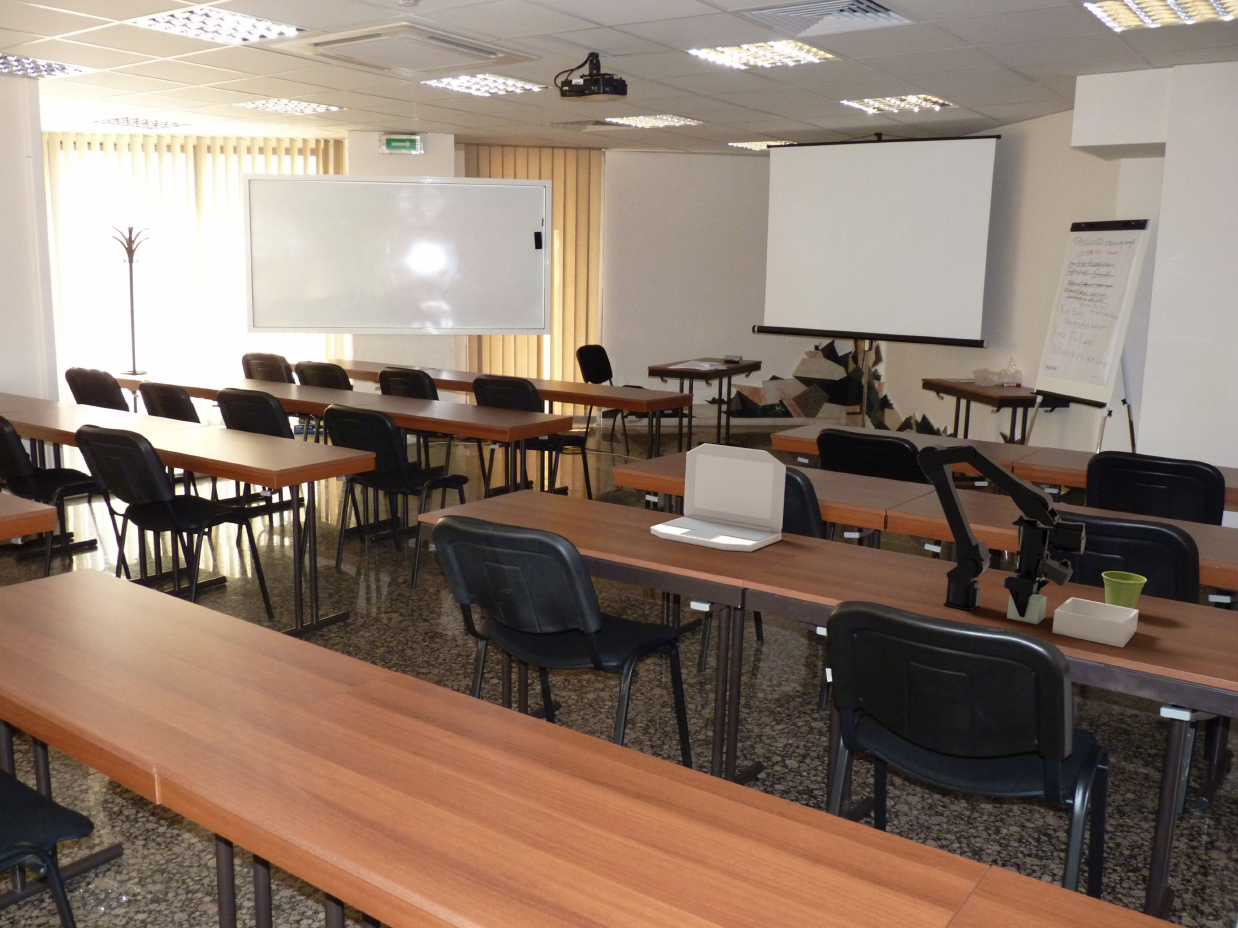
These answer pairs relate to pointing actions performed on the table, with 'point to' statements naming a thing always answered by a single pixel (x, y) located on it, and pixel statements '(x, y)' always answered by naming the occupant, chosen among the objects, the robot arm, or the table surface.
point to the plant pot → (1122, 588)
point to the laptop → (729, 499)
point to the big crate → (1095, 621)
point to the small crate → (1029, 609)
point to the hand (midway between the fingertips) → (1026, 613)
